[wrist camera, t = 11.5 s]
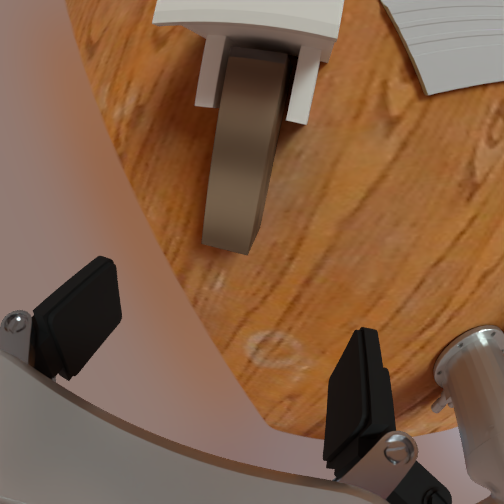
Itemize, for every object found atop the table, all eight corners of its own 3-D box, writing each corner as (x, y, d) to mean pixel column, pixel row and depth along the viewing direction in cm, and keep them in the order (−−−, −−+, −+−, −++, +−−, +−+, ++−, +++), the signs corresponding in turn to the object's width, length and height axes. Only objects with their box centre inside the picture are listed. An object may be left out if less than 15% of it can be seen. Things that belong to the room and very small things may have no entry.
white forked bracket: (315, 124, 24) (317, 133, 13) (207, 105, 25) (138, 106, 14) (335, 25, 19) (349, -32, 9) (225, 10, 20) (169, -41, 9)
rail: (260, 227, 30) (247, 255, 24) (221, 218, 30) (201, 243, 25) (292, 66, 22) (286, 53, 17) (248, 59, 22) (230, 46, 17)
